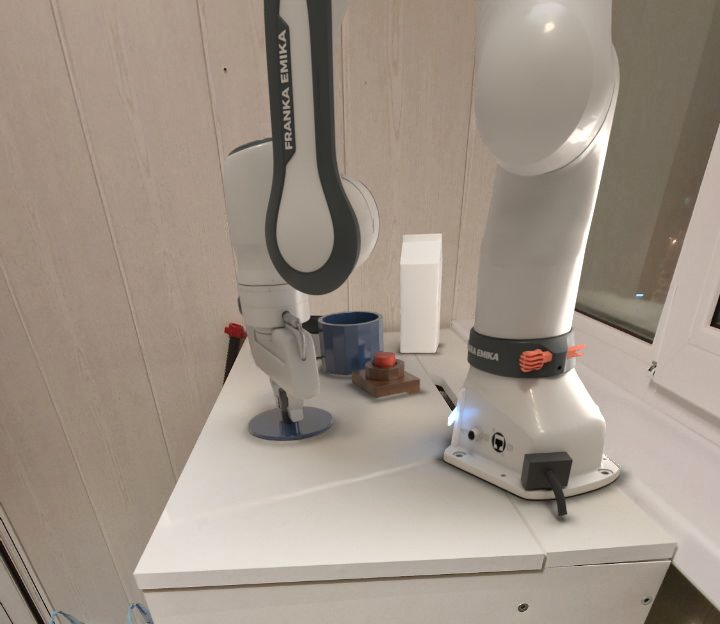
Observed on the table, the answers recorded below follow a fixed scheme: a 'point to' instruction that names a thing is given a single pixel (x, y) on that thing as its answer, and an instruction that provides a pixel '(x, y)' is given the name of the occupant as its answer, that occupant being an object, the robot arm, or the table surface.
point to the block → (386, 379)
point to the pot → (349, 340)
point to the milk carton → (420, 293)
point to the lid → (289, 422)
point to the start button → (384, 359)
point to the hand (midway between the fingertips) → (289, 413)
